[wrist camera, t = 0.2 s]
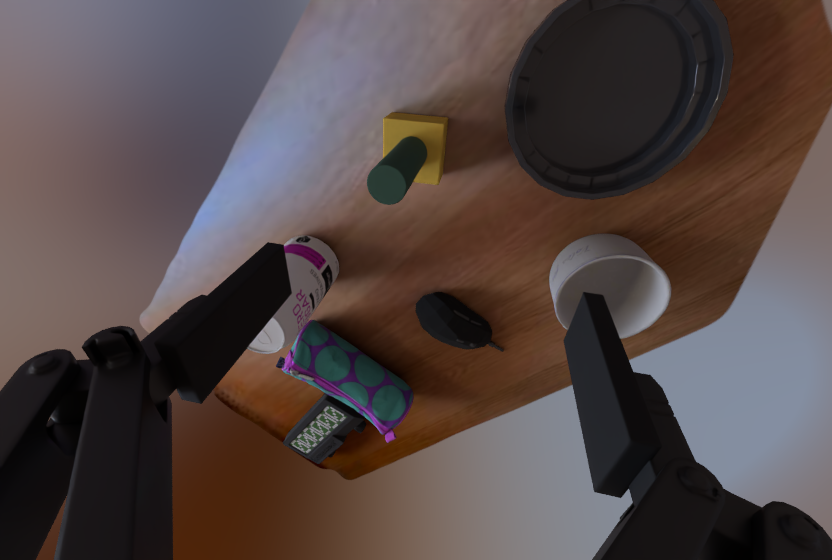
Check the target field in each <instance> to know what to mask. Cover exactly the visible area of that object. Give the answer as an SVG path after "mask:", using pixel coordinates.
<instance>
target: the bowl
mask: <svg viewBox="0 0 832 560" xmlns="http://www.w3.org/2000/svg"><path fill="white" fill-rule="evenodd" d="M732 61H733V49H732V44H731V39H730V34H729V29H728V24H727V19H726V17H725V16H724V14H723V13H722V12H721V10H720V9H719V8H718V6H717V5H716V3H715V2H714V1H713V0H566V1H565V2H563V3H562V4H561V5H559V6H558V7H556V8H555V9H553V10H552V11H551V12H550V13H549V14H548V15H547V17H546V18H545V19H544V20H543V21H542V22H541V24H540V25H539V26H538V27H537V28H536V30H535V31H534V32H533V33H532V34H531V35H530V37H529V38H528V39H527V40H526V42H525V44H524V46H523V48H522V50H521V52H520V54H519V56H518V59H517V61H516V63H515V65H514V67H513V69H512V71H511V74H510V78H509V84H508V89H507V95H506V101H505V115H506V124H507V132H508V140H509V143H510V145H511V147H512V149H513V151H514V153H515V156H516V158H517V160H518V162H519V164H520V166H521V167H522V168H523V169H524V170H525V171H526V172H527V173H528V174H529V175H530V176H531V177H532V178H533V179H534V180H535V181H536V182H537V183H538V184H539V185H541V186H543V187H545V188H547V189H549V190H552V191H554V192H556V193H558V194H560V195H562V196H566V197H574V198H583V199H591V200H592V199H593V200H594V199H600V198H606V197H612V196H619V195H624V194H626V193H629V192H631V191H633V190H636V189H638V188H640V187H643V186H645V185H647V184H650V183H652V182H654V181H656V180H657V179H658V178H660V177H661V176H662V175H664V174H665V173H667V172H668V171H669V170H671V169H672V168H673V167H675V166H676V165H677V164H679V163H680V162H681V161H683V160H684V159H685V158H686V157H687V156H688V154H689V153H690V152H691V151H692V150H693V149H694V147H695V146H696V145H697V144H698V143H699V141H700V140H701V139H702V138H703V137H704V136H705V134H706V133H707V132H708V131H709V129H710V128H711V126H712V123H713V121H714V119H715V117H716V115H717V113H718V111H719V109H720V107H721V105H722V103H723V101H724V99H725V97H726V95H727V91H728V85H729V79H730V73H731V67H732Z"/></svg>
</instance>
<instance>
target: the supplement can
mask: <svg viewBox="0 0 832 560" xmlns="http://www.w3.org/2000/svg"><path fill="white" fill-rule="evenodd" d="M284 250H285V256H286V262H287V268H288V273H289V279H290V285H291V291H292V294H291V295H290V296H289V298H288V299H287V300H286V301H285V302H284V304H283V305H282V306H281V307H280V308H279V310H278V311H277V312H276V313H275V315H274V316H273V317H272V318H271V319H270V321H269V322H268V323H267V324H266V326H265V327H264V328H263V329H262V330H261V332H260V333H259V334H258V335H257V337H256V338H255V339H254V340H253V341H252V343H251V344H250V345H249V346H248V348H247V349H249V350H251V351H254V352H257V353H264V354H270V353H274V352H277V351H279V350H280V349H282V348H284V347H286V346H288V345H289V344H291V343H292V342H293V341H294V340H295V339H296V337H297V336H298V334H299V333H300V331H301V330H302V328H303V327H304V325H305V324H306V322H307V321H308V320H309V318H310V317H311V315H312V314H313V312H314V311H315V309H316V308H317V306H318V305H319V303H320V302H321V300H322V299H323V297H324V296H325V295H326V293H327V292H328V290H329V289H330V287H331V286H332V284H333V283H334V281H335V280H336V278H337V275H338V273H339V262H338V260H337V258H336V255H335V253H334V252H333V251H332V250H331V249H330V247H329V246H328V245H327V244H325V243H324V242H322V241H321V240H319V239H317V238H314V237H311V236H296V237H294V238H292V239H290V240H289V241H288V242H287V243H286V244H284Z"/></svg>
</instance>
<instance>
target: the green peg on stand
mask: <svg viewBox="0 0 832 560" xmlns="http://www.w3.org/2000/svg"><path fill="white" fill-rule="evenodd" d="M447 127H448V118H447V117H437V116H426V115H416V114H406V113H395V112H392V113H390V114H389V115H387V116H386V117H385V118H384V119H383V159H382V160H381V161H380V162H379V163H378V164H377V165H376V166H375V167H374V168H373V169H372V170H371V172H370V173H369V175H368V179H367V186H368V190H369V192H370V194H371V195H372V197H373V198H374V199H375V200H377V201H378V202H380V203H382V204H387V205H391V204H395V203H398V202H399V201H401V200H402V199H403V197H404V196H405V194H406V192H407V191H408V189H409V187H410V186H411V184H412V183H413V182H418V183H426V184H435V185H439V182H440V180H441V177H442V175H443V167H444V157H445V147H446V137H447Z"/></svg>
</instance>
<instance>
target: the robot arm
mask: <svg viewBox="0 0 832 560" xmlns="http://www.w3.org/2000/svg"><path fill="white" fill-rule="evenodd" d="M291 294H292V291H291V285H290V279H289V273H288V268H287V262H286V256H285V250H284V245H281V244H275V243H269V242H268V243H267V244H266V245H264V246H263V247H262V248H261V249H260V250H259V251H258V252H256V253H255V254H254V255H253V256H252V257H251V258H250V259H248V260H247V261H246V262H245V263H244V264H243V265H242V266H241V267H239V268H238V269H237V270H236V271H235V272H234V273H233V274H231V275H230V276H229V277H228V278H227V279H226V280H225V281H223V282H222V283H221V284H220V285H219V286H218V287H217V288H215V289H214V290H213V291H212V292H211V293H210V294H209V295H208V296H206V295H200V296H198V297H196V298H194V299H192V300H190V301H188V302H187V303H186V304H184V305H183V306H182V307H181V308H180V309H179V310H177V312H175V313H174V314H173V315H171V316H170V317H169V319H167V320H166V321H164V322H163V323H162V324H161V325H160V326H158V327H157V328H156V329H155V330H154V331H152V332H151V333H150V334H149V335H148V336H147V337H145V338H144V339H143V340H142V341H141V342H140V341H139V339H138V337H137V335H136V333H135V331H134V330H133V329H132V328H130V327H126V326H118V327H111V328H108V329H105V330H102V331H100V332H98V333H96V334H94V335H92V336H91V337H90V338H89V339H88V340H87V341H85V343H84V345H83V346H82V348H83V350H84V351H85V353H86V354H87V356H88V357H89V360H76V359H75V357H74V356H73V354H72V353H71V352H70V351H67V350H65V349H56V350H52V351H47V352H44V353H41V354H39V355H37V356H34V357H33V358H31V359H30V360H28V361H27V362H25V363H24V364H23V365H22V366H20V367H19V369H18V370H17V371H16V372H15V373H14V375H13V376H12V377H11V379H10V380H9V381H8V382H7V384H6V385H5V386H4V387H3V388H2V390H1V391H0V560H36V558H37V556H38V554H39V551H40V550H41V548H42V546H43V543H44V541H45V539H46V537H47V535H48V533H49V531H50V529H51V527H52V525H53V523H54V520H55V519H56V517H57V514H58V512H59V510H60V508H61V506H62V504H63V502H64V500H65V498H66V496H67V500H66V505H65V509H64V514H63V519H62V523H61V528H60V533H59V538H58V543H57V547H56V552H55V557H54V560H173V522H172V519H173V517H172V516H173V514H172V412H171V411H172V403H171V400H170V398H169V396H170V395H171V394H172V393H173V391H174V390H175V389H177V391H178V393H179V395H180V397H181V399H182V400H186V401H191V402H196V403H200V404H202V403H203V401H204V400H205V399H206V398H207V396H208V395H209V394H210V393H211V392H212V390H213V389H214V388H215V387H216V385H217V384H218V383H219V382H220V381H221V379H222V378H223V377H224V376H225V374H226V373H227V372H228V371H229V370H230V368H231V367H232V366H233V365H234V363H235V362H236V361H237V360H238V359H239V357H240V356H241V355H242V354H243V352H244V351H245V350H246V349H247V348H248V346H249V345H250V344H251V343H252V341H253V340H254V339H255V338H256V337H257V335H258V334H259V333H260V332H261V330H262V329H263V328H264V327H265V326H266V324H267V323H268V322H269V321H270V319H271V318H272V317H273V316H274V315H275V313H276V312H277V311H278V310H279V308H280V307H281V306H282V305H283V304H284V302H285V301H286V300H287V299H288V298H289V296H290V295H291ZM564 345H565V350H566V355H567V360H568V364H569V369H570V374H571V379H572V384H573V389H574V394H575V399H576V404H577V409H578V414H579V418H580V423H581V428H582V434H583V439H584V443H585V448H586V453H587V458H588V463H589V468H590V473H591V478H592V483H593V488H594V492H597V493H601V494H606V495H611V496H615V497H619V498H621V497H622V496H623V495H624V493H625V492H626V491H627V490H628V489H629V490H630V493H631V497H632V501H633V503H632V504H631V506H630V507H629V508H628V509H627V510H626V511H625V512H624V514H623V515H622V516H621V517H620V521H619V522H618V524H617V525H616V526H615V528H614V529H613V531H612V532H611V534H610V535H609V536H608V538H607V539H606V541H605V542H604V544H603V545H602V546H601V548H600V549H599V551H598V552H597V553H596V555H595V556H594V558H593V559H592V560H832V540H831V538H830V537H829V536H828V534H827V533H826V532H825V530H824V529H823V528H822V527H821V526H820V525H819V524H818V523H817V522H816V521H814V520H813V519H812V518H811V517H810V516H809V515H807V514H806V513H804V512H802V511H801V510H799V509H798V508H796V507H794V506H791V505H789V504H786V503H784V502H776V501H772V502H770V503H768V504H766V505H765V506H764V507H760V506H757V505H755V504H753V503H751V502H749V501H747V500H745V499H743V498H741V497H738V496H736V495H734V494H732V493H730V492H729V491H727V490H725V489H723V487H722V485H721V484H720V482H719V481H718V480H717V478H716V477H715V476H714V475H713V474H712V473H711V472H710V471H709V470H708V469H706V468H705V467H704V466H702V465H700V464H699V463H697V462H696V461H695V459H694V457H693V455H692V452H691V450H690V448H689V446H688V444H687V441H686V439H685V437H684V435H683V433H682V431H681V429H680V426H679V424H678V422H677V419H676V417H674V413H673V411H672V409H671V406H670V405H669V404H668V403H669V402H668V400H667V398H666V395H665V393H664V391H663V389H662V388H661V386H660V385H659V384H658V383H657V382H656V381H655V380H654V379H653V378H652V376H651V375H647V374H641V373H636V372H633V370H632V368H631V365H630V363H629V360H628V357H627V355H626V352H625V350H624V347H623V345H622V342H621V339H620V337H619V334H618V332H617V329H616V327H615V324H614V322H613V319H612V316H611V314H610V311H609V309H608V306H607V304H606V301H605V298H604V296H603V295H601V294H594V293H588V292H583V294H582V297H581V299H580V302H579V304H578V307H577V309H576V311H575V314H574V316H573V319H572V321H571V324H570V326H569V329H568V331H567V334H566V336H565V339H564ZM50 417H51V418H50ZM49 418H50V420H49ZM48 420H49V421H48ZM67 494H68V495H67Z"/></svg>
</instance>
